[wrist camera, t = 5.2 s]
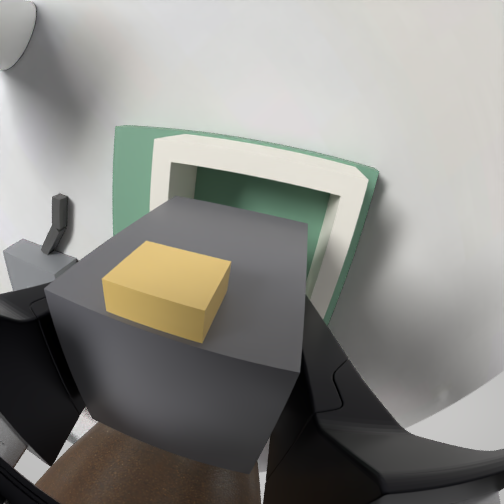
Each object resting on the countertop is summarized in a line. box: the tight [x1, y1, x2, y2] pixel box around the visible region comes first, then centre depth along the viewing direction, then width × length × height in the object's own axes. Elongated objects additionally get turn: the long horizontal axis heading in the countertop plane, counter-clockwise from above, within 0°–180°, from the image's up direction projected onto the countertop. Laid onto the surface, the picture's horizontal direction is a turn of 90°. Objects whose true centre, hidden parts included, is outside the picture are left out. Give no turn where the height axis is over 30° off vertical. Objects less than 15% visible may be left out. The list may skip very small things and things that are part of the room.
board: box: [113, 125, 379, 326], centre depth 14 cm, size 11×13×4 cm
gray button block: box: [3, 194, 77, 291], centre depth 18 cm, size 12×7×3 cm, turn 171°
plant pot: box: [35, 422, 261, 504], centre depth 15 cm, size 15×15×16 cm
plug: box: [44, 196, 308, 474], centre depth 7 cm, size 5×4×6 cm
